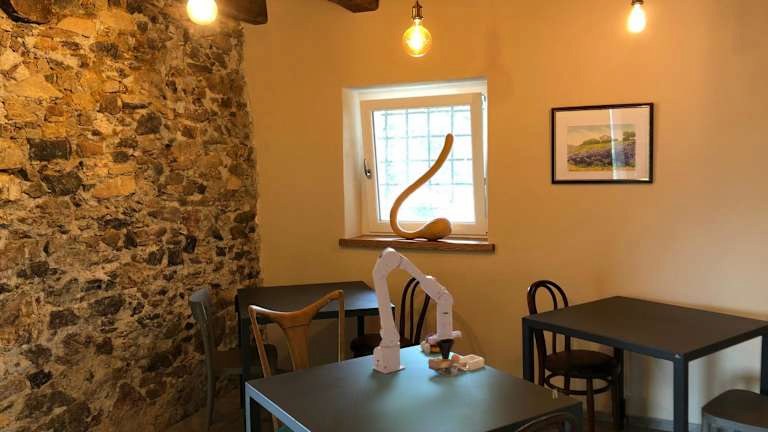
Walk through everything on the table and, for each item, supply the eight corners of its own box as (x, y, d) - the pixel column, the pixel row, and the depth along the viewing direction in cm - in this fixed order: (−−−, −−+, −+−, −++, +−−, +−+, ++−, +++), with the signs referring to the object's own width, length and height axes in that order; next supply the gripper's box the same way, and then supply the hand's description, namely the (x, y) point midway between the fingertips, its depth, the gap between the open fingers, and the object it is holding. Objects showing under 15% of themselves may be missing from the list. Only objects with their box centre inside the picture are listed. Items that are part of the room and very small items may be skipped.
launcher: (436, 371, 215) (437, 361, 215) (414, 363, 225) (416, 354, 225) (465, 371, 223) (467, 361, 223) (443, 363, 233) (444, 354, 233)
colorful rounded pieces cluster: (426, 356, 243) (426, 337, 242) (419, 349, 252) (418, 331, 252) (447, 353, 245) (446, 335, 244) (438, 347, 254) (438, 330, 254)
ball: (454, 362, 221) (457, 353, 222) (448, 360, 223) (451, 351, 224) (459, 365, 222) (463, 356, 223) (453, 363, 225) (457, 354, 226)
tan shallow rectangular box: (465, 371, 222) (465, 363, 222) (453, 367, 227) (453, 359, 227) (484, 366, 227) (484, 358, 227) (472, 362, 233) (472, 354, 232)
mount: (450, 377, 216) (450, 366, 216) (434, 371, 223) (434, 360, 223) (461, 374, 219) (460, 363, 219) (445, 368, 226) (444, 358, 226)
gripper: (436, 328, 221) (437, 365, 222) (466, 321, 230) (467, 357, 231) (424, 324, 227) (425, 360, 228) (453, 318, 236) (454, 353, 236)
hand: (445, 358), depth 230 cm, fingers closed, pressing on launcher
